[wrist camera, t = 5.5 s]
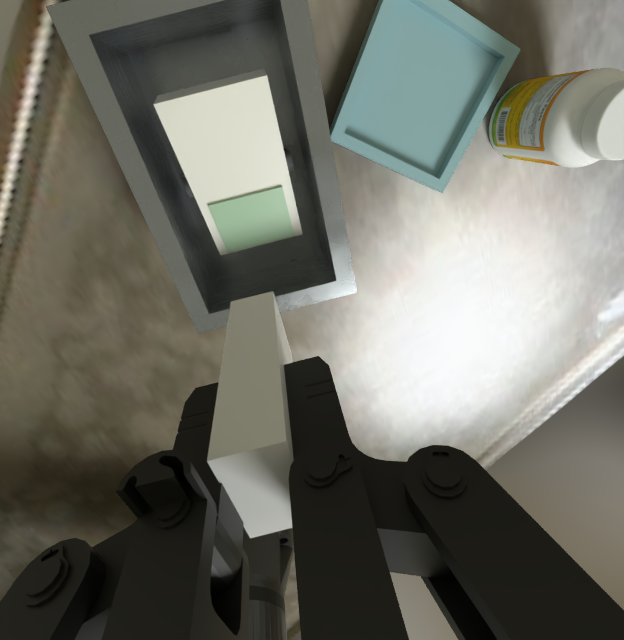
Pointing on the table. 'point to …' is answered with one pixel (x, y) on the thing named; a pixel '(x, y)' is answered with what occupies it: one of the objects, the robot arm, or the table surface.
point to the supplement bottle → (562, 119)
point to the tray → (421, 88)
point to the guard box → (161, 161)
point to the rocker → (233, 159)
